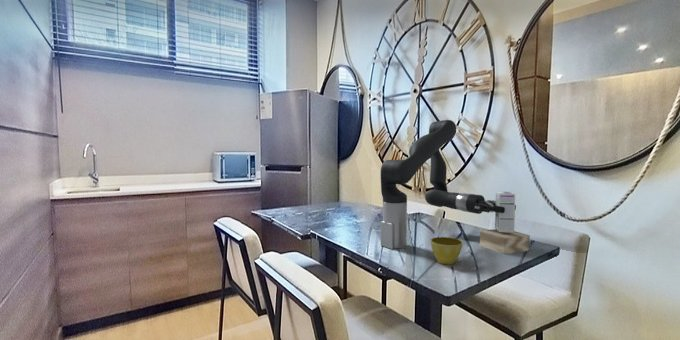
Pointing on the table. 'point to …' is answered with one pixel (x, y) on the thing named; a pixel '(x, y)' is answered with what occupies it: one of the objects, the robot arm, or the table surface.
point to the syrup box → (507, 219)
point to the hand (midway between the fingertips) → (510, 208)
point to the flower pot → (446, 249)
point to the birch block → (504, 241)
